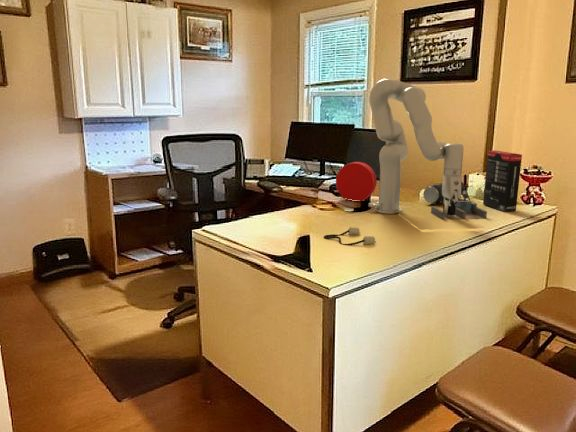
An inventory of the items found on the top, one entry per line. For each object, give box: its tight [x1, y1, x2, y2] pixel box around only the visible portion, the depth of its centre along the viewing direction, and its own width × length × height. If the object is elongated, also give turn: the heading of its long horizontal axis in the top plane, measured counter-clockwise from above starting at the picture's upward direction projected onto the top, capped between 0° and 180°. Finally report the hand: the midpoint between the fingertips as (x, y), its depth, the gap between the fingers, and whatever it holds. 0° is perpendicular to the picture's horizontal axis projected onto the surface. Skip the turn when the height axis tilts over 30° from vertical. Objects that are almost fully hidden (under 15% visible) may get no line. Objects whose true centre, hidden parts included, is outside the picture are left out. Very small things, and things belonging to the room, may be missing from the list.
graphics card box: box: [482, 150, 523, 213], centre depth 227 cm, size 17×7×27 cm, turn 14°
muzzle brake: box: [423, 180, 466, 205], centre depth 244 cm, size 10×28×10 cm, turn 135°
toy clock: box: [335, 161, 377, 202], centre depth 245 cm, size 20×6×20 cm, turn 66°
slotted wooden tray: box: [430, 200, 488, 221], centre depth 211 cm, size 20×14×6 cm
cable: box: [323, 226, 377, 246], centre depth 177 cm, size 16×16×4 cm
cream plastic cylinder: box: [444, 198, 453, 217], centre depth 209 cm, size 4×4×8 cm
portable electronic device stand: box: [462, 190, 471, 201], centre depth 227 cm, size 9×8×8 cm
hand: (448, 213), depth 209 cm, fingers closed on cream plastic cylinder, 4 cm apart
